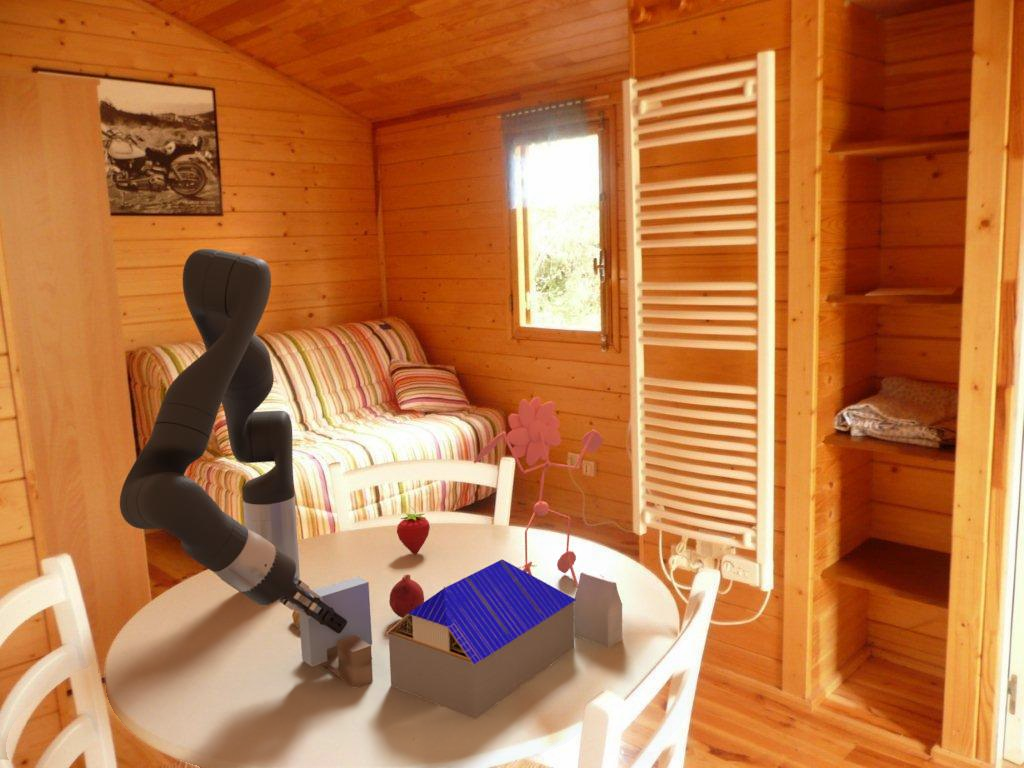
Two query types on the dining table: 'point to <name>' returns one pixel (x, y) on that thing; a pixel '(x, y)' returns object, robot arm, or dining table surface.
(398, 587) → the onion
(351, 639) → the walnut blocks
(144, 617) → the dining table surface
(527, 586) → the house
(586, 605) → the grey house-shaped block
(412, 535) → the strawberry
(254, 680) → the dining table surface
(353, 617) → the grey notched square slab
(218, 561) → the robot arm
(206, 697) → the dining table surface
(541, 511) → the figurine
